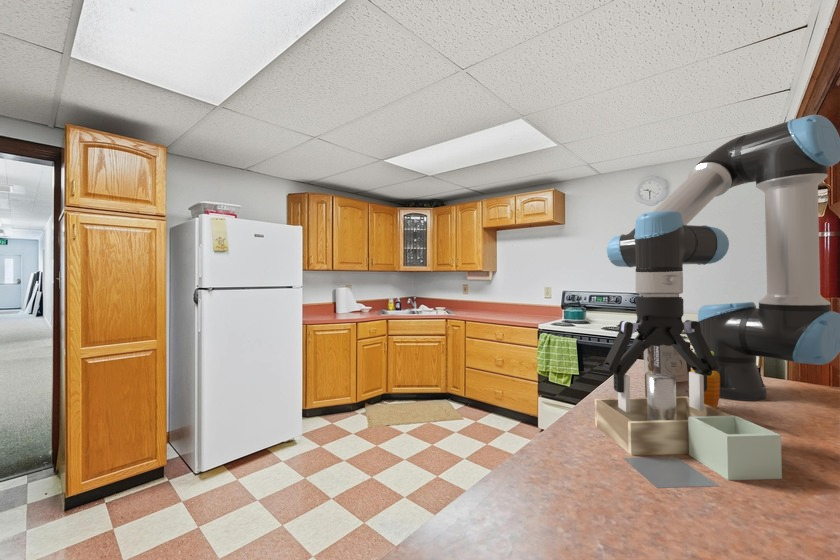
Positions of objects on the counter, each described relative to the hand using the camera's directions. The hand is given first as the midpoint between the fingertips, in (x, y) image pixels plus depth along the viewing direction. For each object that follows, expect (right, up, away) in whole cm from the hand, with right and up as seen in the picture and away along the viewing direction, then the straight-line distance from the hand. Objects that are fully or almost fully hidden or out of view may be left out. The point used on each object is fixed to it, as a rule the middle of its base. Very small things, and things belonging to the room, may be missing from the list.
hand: (660, 409), depth 71 cm
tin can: (0, -6, 0) cm, 6 cm away
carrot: (+14, -6, +8) cm, 17 cm away
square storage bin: (+5, -6, -11) cm, 13 cm away
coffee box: (+12, -6, +17) cm, 22 cm away
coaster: (-6, -6, -12) cm, 15 cm away
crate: (0, -6, 0) cm, 6 cm away
